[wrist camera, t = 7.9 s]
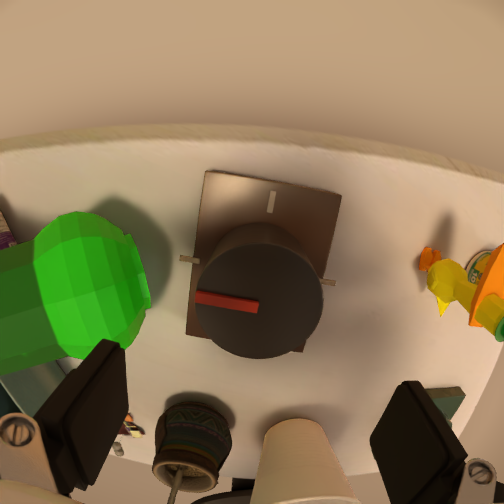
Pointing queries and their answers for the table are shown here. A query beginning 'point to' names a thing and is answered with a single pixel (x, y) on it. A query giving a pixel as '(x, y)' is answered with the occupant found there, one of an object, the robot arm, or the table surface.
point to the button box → (446, 401)
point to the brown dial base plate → (260, 211)
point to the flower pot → (29, 388)
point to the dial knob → (258, 293)
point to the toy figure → (469, 289)
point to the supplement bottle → (477, 267)
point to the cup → (300, 467)
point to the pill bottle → (5, 235)
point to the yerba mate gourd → (190, 448)
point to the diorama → (126, 429)
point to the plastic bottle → (69, 292)
